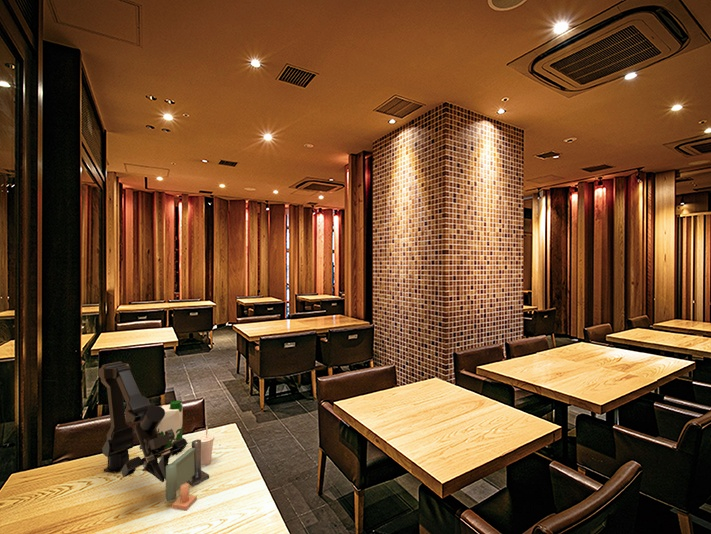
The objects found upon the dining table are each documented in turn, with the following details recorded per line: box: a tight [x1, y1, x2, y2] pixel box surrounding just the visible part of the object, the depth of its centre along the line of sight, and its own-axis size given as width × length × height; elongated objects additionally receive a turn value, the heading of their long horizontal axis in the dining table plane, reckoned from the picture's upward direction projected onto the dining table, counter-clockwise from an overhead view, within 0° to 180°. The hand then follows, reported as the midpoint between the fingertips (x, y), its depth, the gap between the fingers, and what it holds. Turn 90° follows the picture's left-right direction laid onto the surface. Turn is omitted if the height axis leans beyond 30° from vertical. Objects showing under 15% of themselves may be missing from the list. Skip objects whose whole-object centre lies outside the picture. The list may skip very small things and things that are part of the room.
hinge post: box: [186, 439, 210, 488], centre depth 123 cm, size 6×6×14 cm
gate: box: [165, 447, 195, 503], centre depth 115 cm, size 12×3×10 cm, turn 170°
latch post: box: [171, 482, 198, 511], centre depth 110 cm, size 5×5×6 cm
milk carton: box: [156, 400, 184, 454], centre depth 142 cm, size 9×9×20 cm
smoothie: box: [196, 426, 215, 466], centre depth 133 cm, size 6×6×14 cm
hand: (165, 480), depth 110 cm, fingers closed
